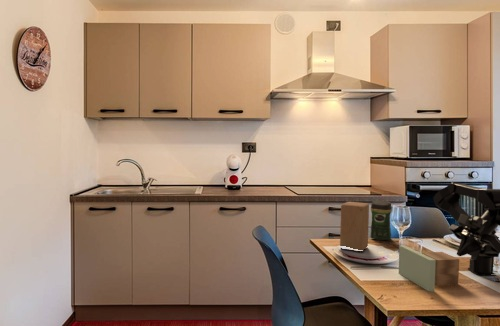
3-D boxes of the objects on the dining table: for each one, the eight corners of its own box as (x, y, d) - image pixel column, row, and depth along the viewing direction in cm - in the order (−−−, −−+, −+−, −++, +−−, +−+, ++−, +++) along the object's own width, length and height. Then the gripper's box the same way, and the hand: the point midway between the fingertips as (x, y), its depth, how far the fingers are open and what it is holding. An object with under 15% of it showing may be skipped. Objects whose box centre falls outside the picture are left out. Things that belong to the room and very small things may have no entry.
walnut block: (441, 275, 125) (442, 251, 125) (458, 284, 117) (459, 259, 117) (420, 276, 124) (421, 252, 123) (436, 285, 116) (437, 260, 115)
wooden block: (362, 253, 149) (363, 206, 148) (339, 249, 154) (340, 204, 153) (368, 247, 157) (369, 203, 156) (346, 244, 163) (347, 201, 162)
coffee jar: (391, 238, 174) (393, 200, 173) (389, 242, 167) (391, 203, 166) (371, 235, 179) (372, 199, 178) (368, 239, 172) (369, 201, 171)
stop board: (403, 272, 127) (404, 245, 126) (434, 291, 111) (435, 259, 111) (398, 273, 127) (399, 245, 126) (428, 291, 111) (429, 260, 110)
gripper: (454, 202, 131) (426, 232, 129) (497, 212, 112) (464, 247, 111) (472, 222, 132) (444, 252, 131) (517, 235, 114) (485, 270, 113)
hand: (458, 255), depth 122 cm, fingers closed
